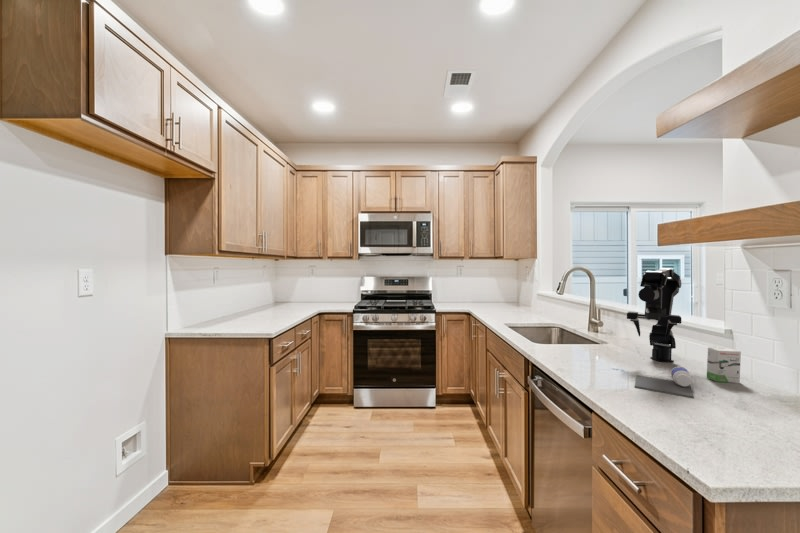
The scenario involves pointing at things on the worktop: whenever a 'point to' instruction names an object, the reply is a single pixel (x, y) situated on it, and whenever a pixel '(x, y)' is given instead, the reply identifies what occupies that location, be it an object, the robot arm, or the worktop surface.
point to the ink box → (723, 364)
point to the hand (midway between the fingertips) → (652, 337)
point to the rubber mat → (663, 386)
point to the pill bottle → (681, 376)
